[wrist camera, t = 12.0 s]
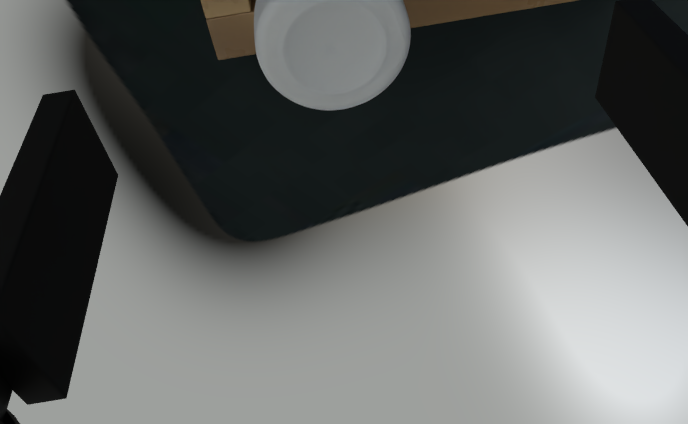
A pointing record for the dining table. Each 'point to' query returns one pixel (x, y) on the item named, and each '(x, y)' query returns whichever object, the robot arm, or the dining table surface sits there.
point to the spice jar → (331, 48)
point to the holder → (421, 3)
